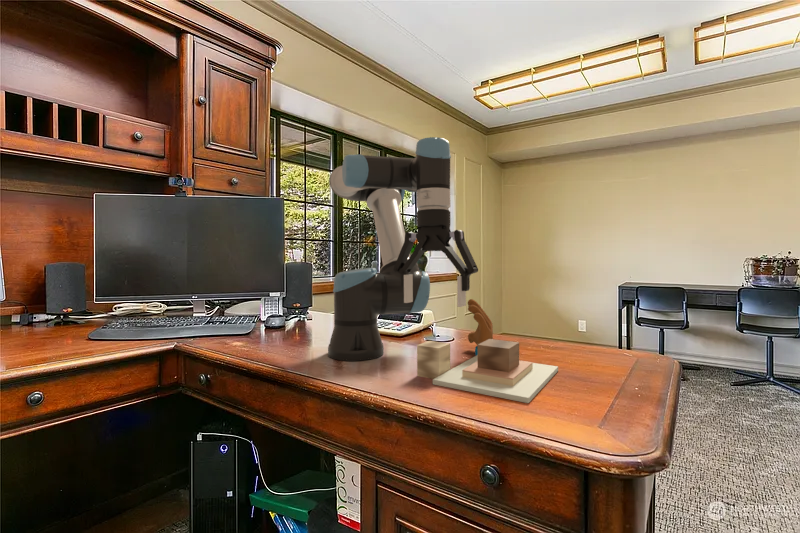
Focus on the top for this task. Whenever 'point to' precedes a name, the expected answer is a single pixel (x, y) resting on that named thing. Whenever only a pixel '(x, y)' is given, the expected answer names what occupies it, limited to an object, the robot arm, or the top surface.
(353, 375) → the top surface
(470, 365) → the board
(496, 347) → the walnut block
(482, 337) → the toy
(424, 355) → the maple block
